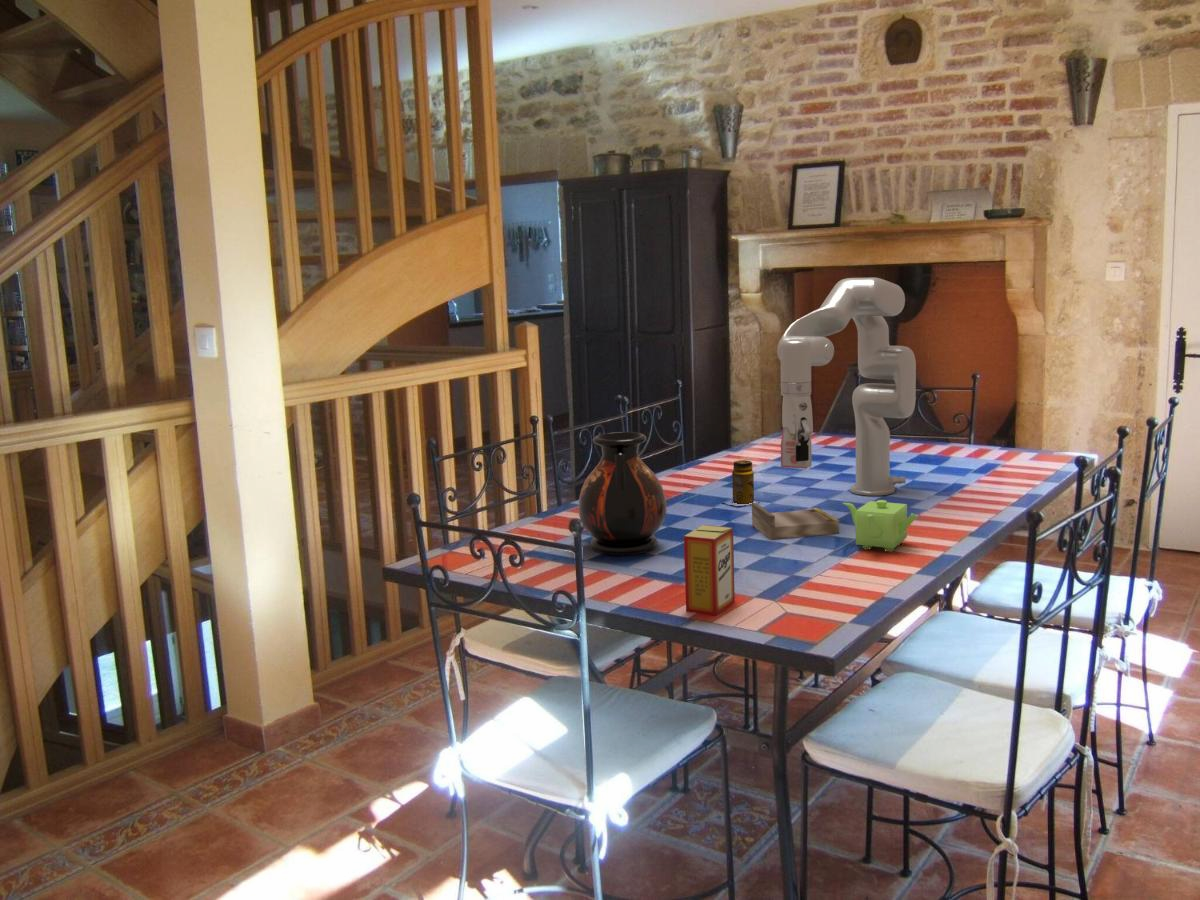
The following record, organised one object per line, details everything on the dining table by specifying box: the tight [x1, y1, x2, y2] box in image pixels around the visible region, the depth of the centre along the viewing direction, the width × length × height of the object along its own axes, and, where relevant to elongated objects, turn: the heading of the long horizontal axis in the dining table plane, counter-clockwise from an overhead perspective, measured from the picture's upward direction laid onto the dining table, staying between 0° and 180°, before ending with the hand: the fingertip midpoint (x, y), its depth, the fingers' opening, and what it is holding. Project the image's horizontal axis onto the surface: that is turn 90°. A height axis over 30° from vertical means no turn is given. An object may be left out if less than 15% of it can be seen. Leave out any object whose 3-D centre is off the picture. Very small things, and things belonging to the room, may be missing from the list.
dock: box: [751, 503, 840, 540], centre depth 266 cm, size 18×14×6 cm
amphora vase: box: [577, 431, 667, 556], centre depth 254 cm, size 22×22×28 cm
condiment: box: [731, 459, 755, 504], centre depth 295 cm, size 7×8×12 cm
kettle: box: [842, 499, 918, 552], centre depth 247 cm, size 15×14×11 cm
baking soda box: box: [683, 524, 736, 616], centre depth 210 cm, size 10×6×16 cm
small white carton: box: [780, 426, 813, 470], centre depth 264 cm, size 4×7×10 cm, turn 58°
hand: (796, 457), depth 264 cm, fingers closed on small white carton, 7 cm apart
